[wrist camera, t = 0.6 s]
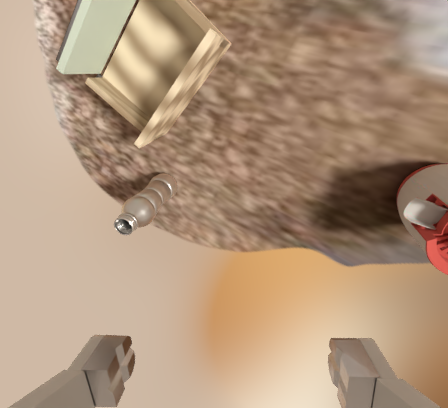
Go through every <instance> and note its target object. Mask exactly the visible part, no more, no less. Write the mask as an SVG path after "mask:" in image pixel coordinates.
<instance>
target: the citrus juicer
mask: <svg viewBox="0 0 448 408" xmlns="http://www.w3.org/2000/svg"><path fill="white" fill-rule="evenodd" d="M397 208H398V211H399V215H400V218H401V220H402V222H403V224H404V226H405V227H406V229H407V230H408V232H409V233H410V234H411V236H412V237H413V238H414V239H415V241H416V242H417V243H418V244H419V246H420V247H421V248H422V249H423V250H424V252H425V253H426V254H427V257H428V259H429V260H430V262H431V264H432V265H434V266H435V267H436V268H437V269H438V270H440V271H442V272H443V273H445V274H447V275H448V163H447V164H434V165H428V166H425V167H422V168H420V169H418V170H416V171H414V172H413V173H411V174H410V175H408V176H407V177H406V178H405V179H404V181H403V182H402V183H401V185H400V187H399V189H398V192H397Z"/></svg>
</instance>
